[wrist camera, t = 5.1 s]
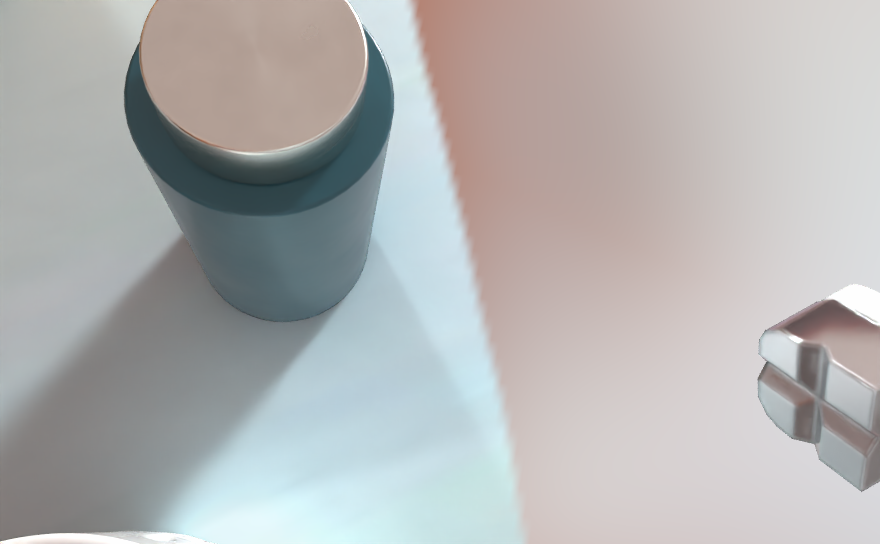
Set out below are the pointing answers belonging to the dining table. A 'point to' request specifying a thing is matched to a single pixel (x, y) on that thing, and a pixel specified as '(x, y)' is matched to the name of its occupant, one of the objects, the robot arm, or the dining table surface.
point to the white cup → (108, 538)
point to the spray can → (265, 143)
